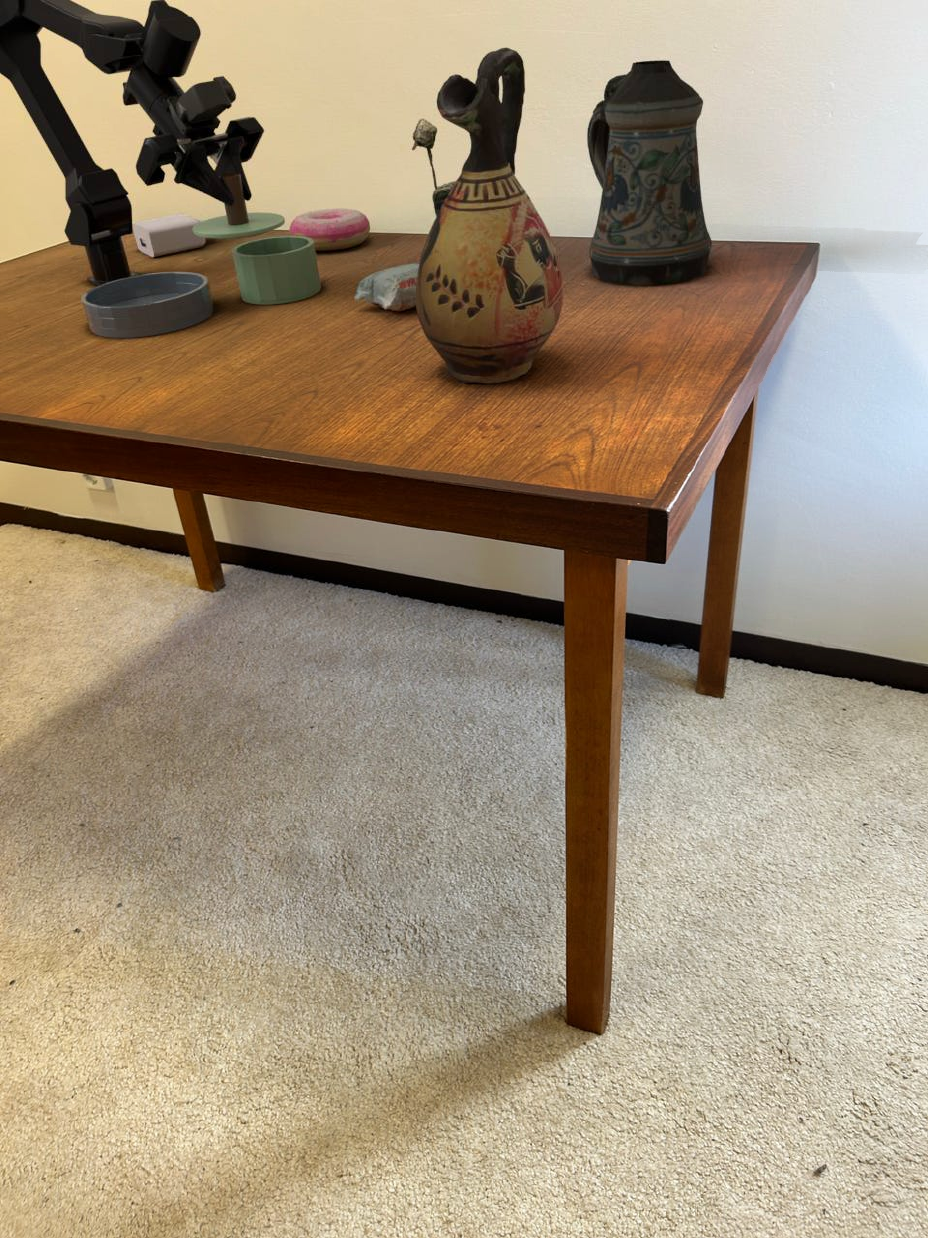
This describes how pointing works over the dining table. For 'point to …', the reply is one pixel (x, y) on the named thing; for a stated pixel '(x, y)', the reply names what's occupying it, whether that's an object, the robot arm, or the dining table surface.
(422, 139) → the plant with pod
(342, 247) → the donut
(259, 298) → the green cylinder
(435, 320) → the ceramic jug
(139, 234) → the charger
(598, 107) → the beer stein
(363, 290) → the packaged food
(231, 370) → the dining table surface
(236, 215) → the lid
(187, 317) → the pan
